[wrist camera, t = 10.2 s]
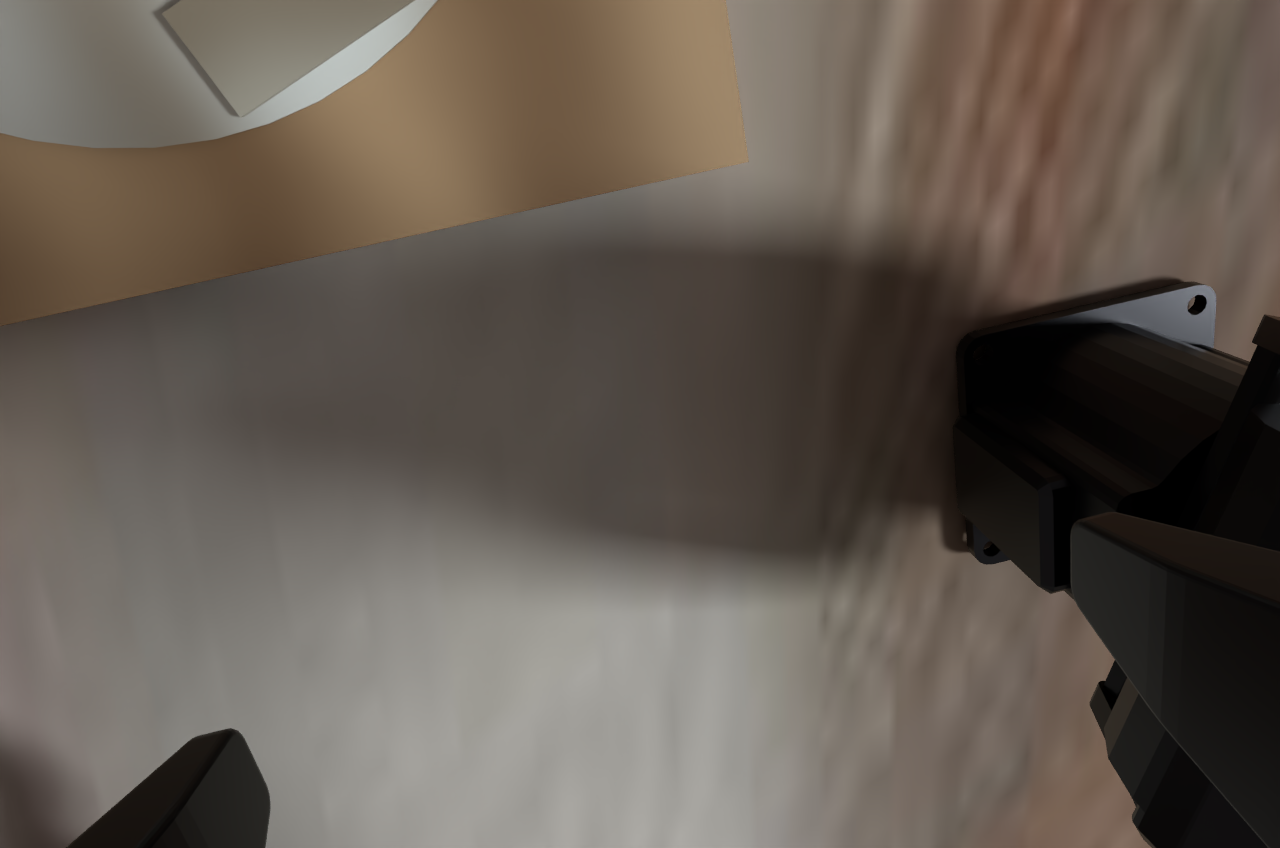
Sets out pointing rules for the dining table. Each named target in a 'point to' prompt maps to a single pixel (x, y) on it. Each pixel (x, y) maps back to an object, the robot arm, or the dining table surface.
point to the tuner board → (328, 127)
